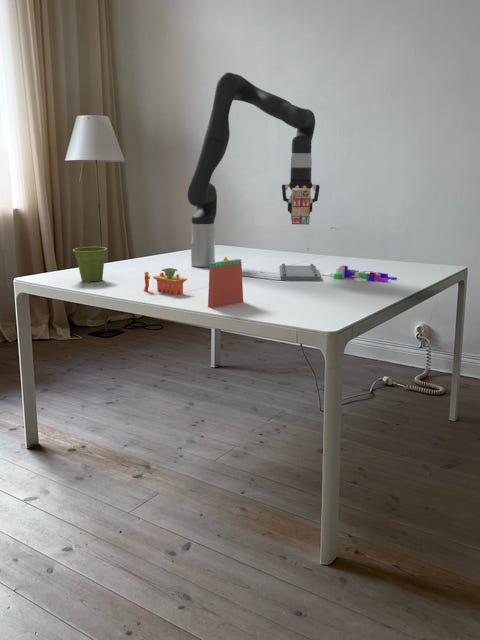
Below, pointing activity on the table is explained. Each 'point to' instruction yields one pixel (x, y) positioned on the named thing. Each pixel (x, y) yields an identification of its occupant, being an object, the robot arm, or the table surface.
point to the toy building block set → (221, 282)
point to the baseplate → (299, 273)
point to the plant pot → (90, 262)
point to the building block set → (359, 275)
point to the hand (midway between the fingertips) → (299, 213)
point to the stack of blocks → (300, 206)
